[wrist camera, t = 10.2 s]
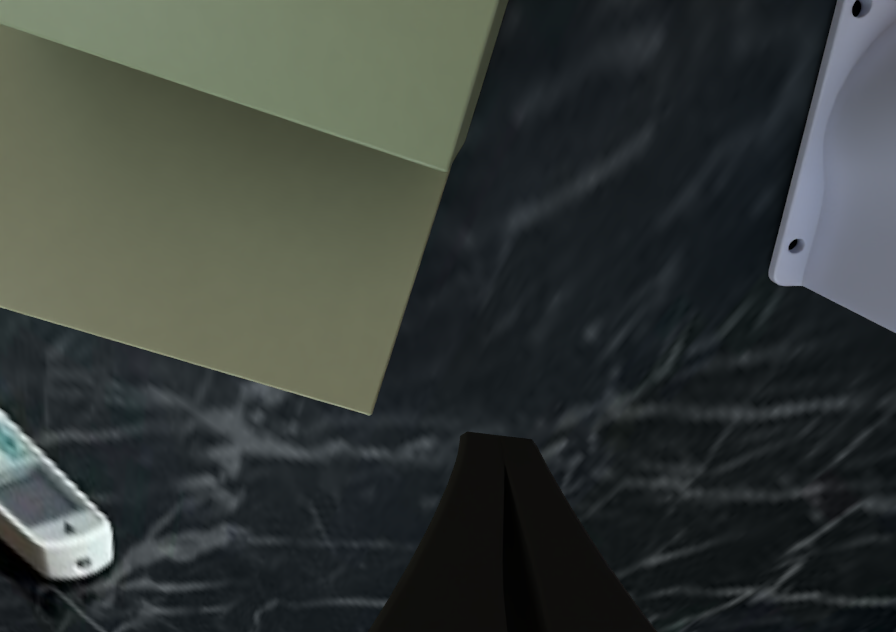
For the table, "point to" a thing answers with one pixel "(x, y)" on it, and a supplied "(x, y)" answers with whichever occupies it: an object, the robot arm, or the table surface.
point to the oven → (302, 59)
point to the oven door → (203, 225)
